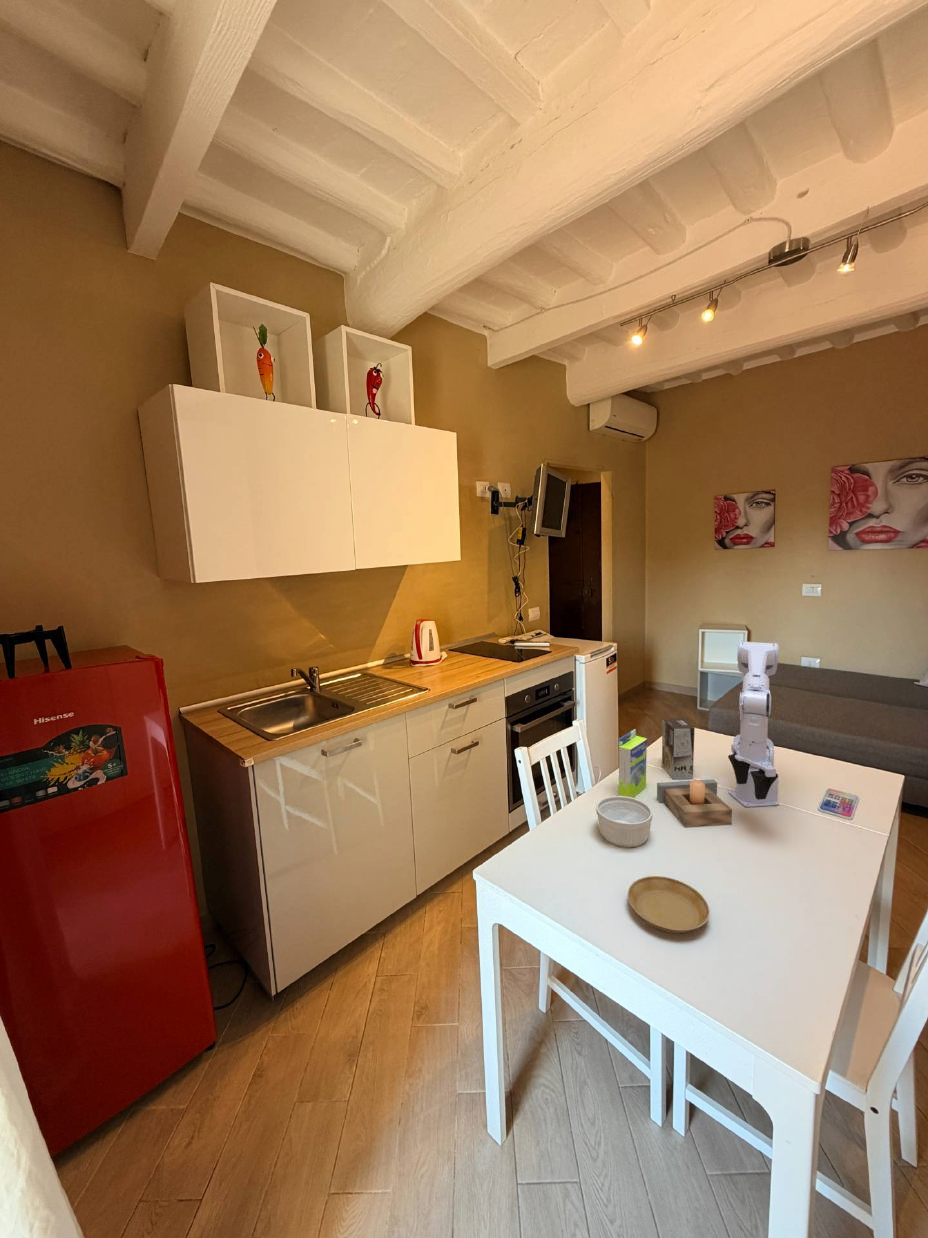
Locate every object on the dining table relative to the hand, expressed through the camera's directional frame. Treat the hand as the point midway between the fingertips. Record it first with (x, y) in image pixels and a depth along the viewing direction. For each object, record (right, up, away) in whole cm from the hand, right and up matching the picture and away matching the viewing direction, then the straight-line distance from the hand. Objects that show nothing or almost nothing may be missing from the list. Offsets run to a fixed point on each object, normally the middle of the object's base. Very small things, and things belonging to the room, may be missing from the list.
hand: (750, 790), depth 122 cm
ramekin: (-31, -11, 0) cm, 33 cm away
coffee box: (-5, -5, +31) cm, 32 cm away
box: (-22, -8, +20) cm, 31 cm away
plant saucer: (-31, -15, -25) cm, 43 cm away
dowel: (-10, -8, +8) cm, 15 cm away
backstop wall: (-9, -8, +15) cm, 19 cm away
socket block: (-10, -9, +8) cm, 15 cm away
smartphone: (+29, -7, +9) cm, 31 cm away
